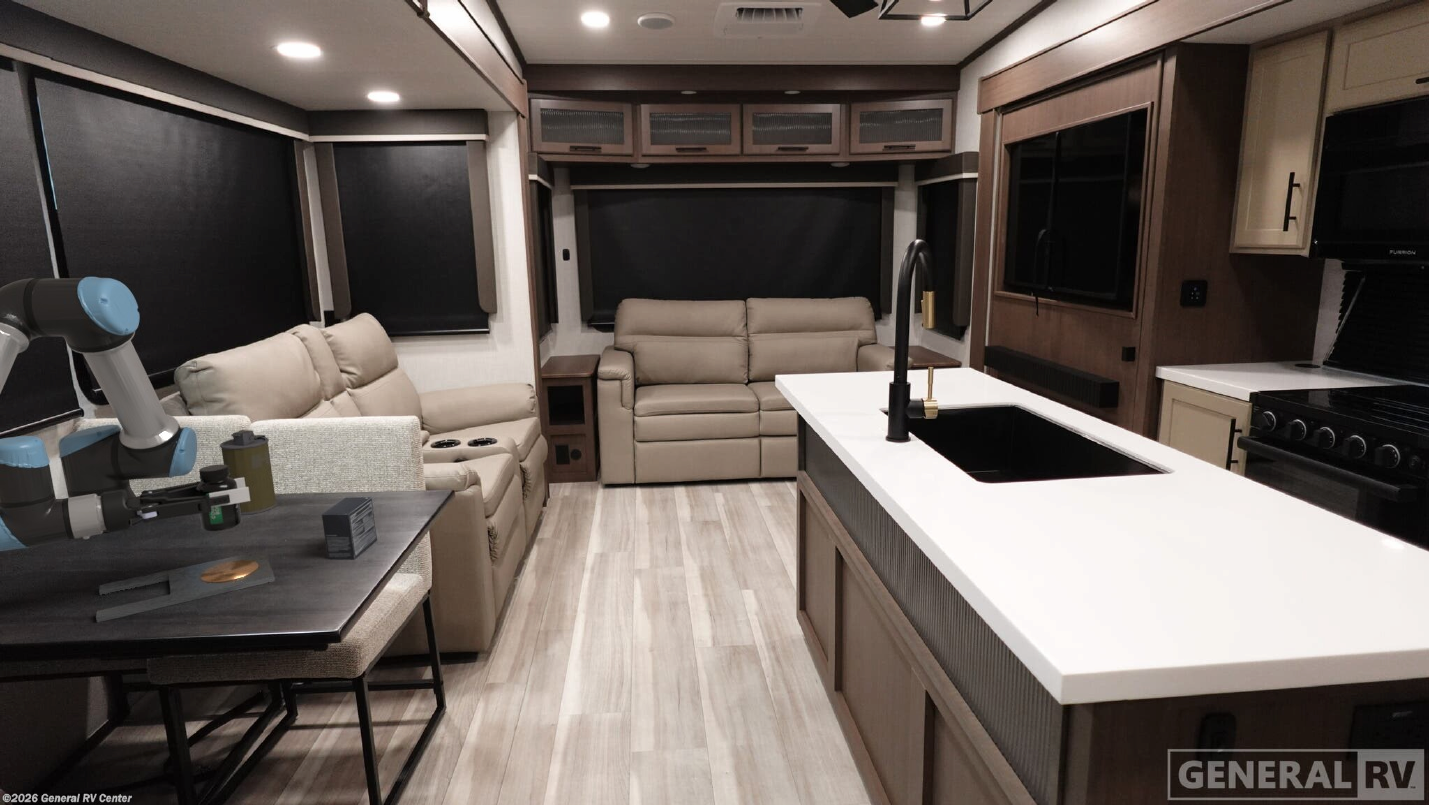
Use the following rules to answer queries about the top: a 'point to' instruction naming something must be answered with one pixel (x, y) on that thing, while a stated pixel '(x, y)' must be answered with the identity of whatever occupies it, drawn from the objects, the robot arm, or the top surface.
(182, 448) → the robot arm
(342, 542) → the small box
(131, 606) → the rail plate
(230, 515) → the supplement bottle
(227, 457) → the canister
